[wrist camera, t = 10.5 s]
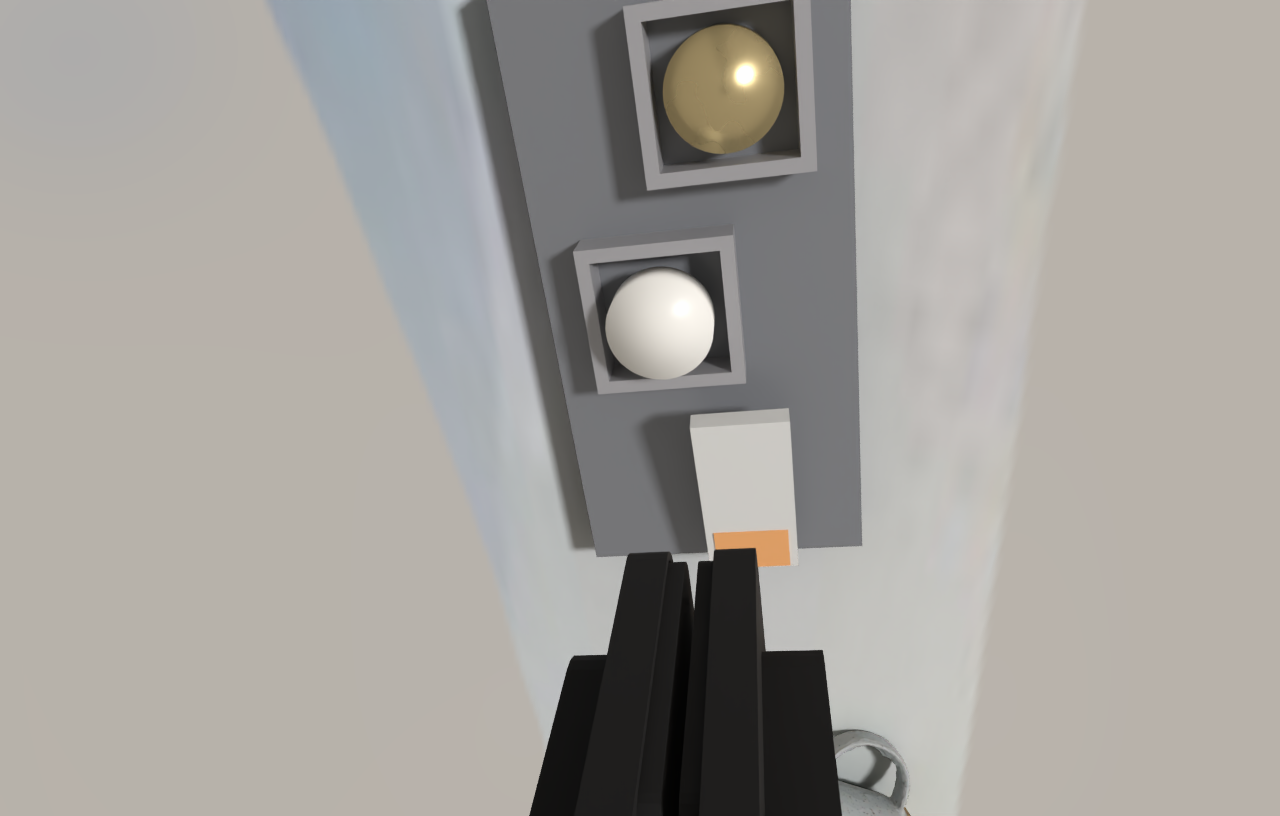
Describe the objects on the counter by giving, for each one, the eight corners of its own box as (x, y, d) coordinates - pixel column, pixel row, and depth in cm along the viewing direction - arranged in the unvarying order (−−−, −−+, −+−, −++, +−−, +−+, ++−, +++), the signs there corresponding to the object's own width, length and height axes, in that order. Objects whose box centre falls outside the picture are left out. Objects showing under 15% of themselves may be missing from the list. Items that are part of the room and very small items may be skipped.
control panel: (496, -19, 34) (469, -19, 31) (843, -75, 32) (854, -81, 28) (602, 534, 47) (591, 578, 43) (857, 523, 44) (866, 567, 41)
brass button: (659, 32, 32) (655, 34, 31) (778, 14, 31) (780, 16, 30) (673, 153, 34) (670, 160, 33) (785, 139, 33) (787, 146, 32)
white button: (603, 271, 36) (597, 283, 34) (709, 261, 35) (707, 273, 34) (619, 368, 38) (614, 383, 36) (719, 360, 37) (718, 375, 36)
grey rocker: (690, 414, 38) (689, 429, 37) (788, 408, 37) (790, 422, 36) (710, 554, 43) (710, 569, 42) (797, 550, 42) (798, 566, 41)
